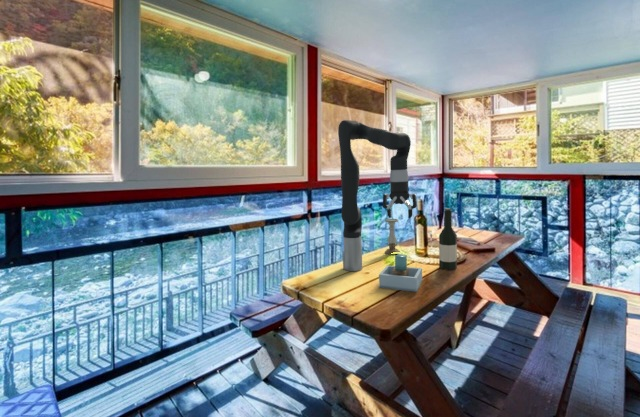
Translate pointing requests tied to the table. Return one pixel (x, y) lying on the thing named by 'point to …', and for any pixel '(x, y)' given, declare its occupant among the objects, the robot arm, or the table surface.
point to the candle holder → (391, 237)
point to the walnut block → (400, 272)
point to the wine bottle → (448, 244)
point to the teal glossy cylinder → (401, 262)
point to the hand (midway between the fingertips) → (399, 217)
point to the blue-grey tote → (400, 279)
